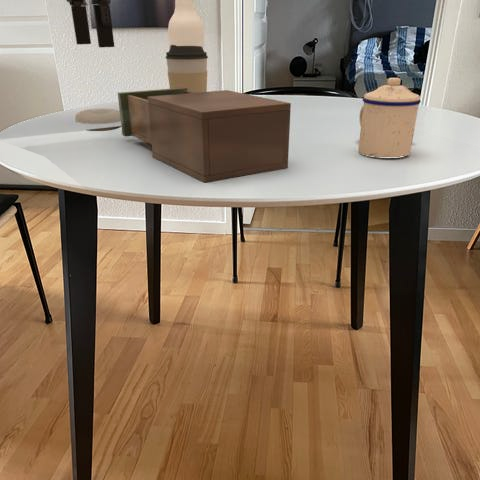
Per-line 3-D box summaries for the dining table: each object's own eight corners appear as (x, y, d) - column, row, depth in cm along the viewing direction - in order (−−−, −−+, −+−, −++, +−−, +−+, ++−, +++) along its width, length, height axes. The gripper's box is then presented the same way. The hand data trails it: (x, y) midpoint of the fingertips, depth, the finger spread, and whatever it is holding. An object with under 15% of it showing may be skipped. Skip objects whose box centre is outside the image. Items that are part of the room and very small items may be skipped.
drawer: (120, 134, 94) (114, 91, 90) (184, 127, 101) (181, 86, 97) (160, 153, 82) (156, 104, 78) (230, 143, 88) (230, 97, 84)
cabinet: (152, 157, 83) (146, 96, 78) (227, 146, 90) (227, 90, 85) (204, 182, 70) (201, 112, 65) (287, 167, 77) (291, 103, 72)
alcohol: (168, 106, 130) (158, -35, 114) (179, 101, 137) (171, -32, 121) (200, 107, 128) (195, -36, 112) (210, 102, 135) (205, -33, 120)
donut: (108, 122, 111) (67, 127, 105) (106, 105, 109) (64, 110, 103) (134, 128, 105) (92, 134, 99) (133, 111, 103) (90, 116, 97)
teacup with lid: (422, 156, 83) (437, 79, 77) (378, 162, 80) (389, 82, 74) (378, 142, 92) (388, 72, 86) (336, 147, 89) (343, 75, 83)
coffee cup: (196, 115, 118) (193, 42, 110) (217, 120, 112) (216, 44, 104) (162, 119, 113) (156, 44, 105) (182, 125, 107) (178, 46, 99)
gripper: (122, -109, 77) (137, 47, 88) (75, -85, 95) (93, 42, 106) (74, -114, 74) (96, 49, 85) (35, -88, 92) (57, 43, 103)
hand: (94, 45), depth 96 cm, fingers open, 13 cm apart
